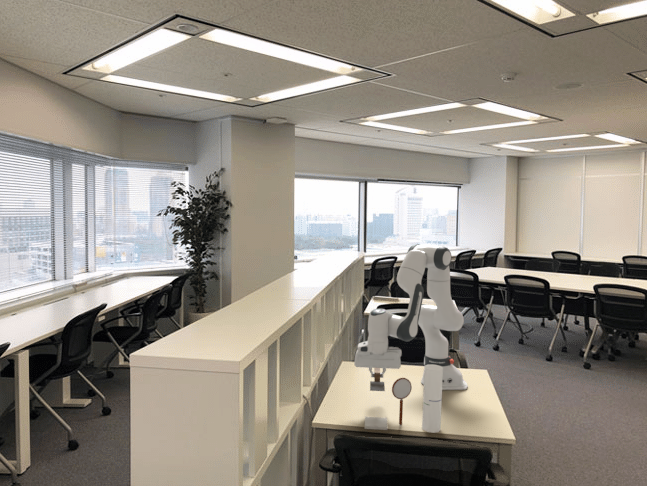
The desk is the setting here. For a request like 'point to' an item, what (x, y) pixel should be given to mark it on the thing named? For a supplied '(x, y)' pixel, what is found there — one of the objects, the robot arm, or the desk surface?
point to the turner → (377, 382)
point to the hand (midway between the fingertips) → (377, 377)
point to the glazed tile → (376, 423)
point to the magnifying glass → (401, 392)
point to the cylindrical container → (432, 398)
